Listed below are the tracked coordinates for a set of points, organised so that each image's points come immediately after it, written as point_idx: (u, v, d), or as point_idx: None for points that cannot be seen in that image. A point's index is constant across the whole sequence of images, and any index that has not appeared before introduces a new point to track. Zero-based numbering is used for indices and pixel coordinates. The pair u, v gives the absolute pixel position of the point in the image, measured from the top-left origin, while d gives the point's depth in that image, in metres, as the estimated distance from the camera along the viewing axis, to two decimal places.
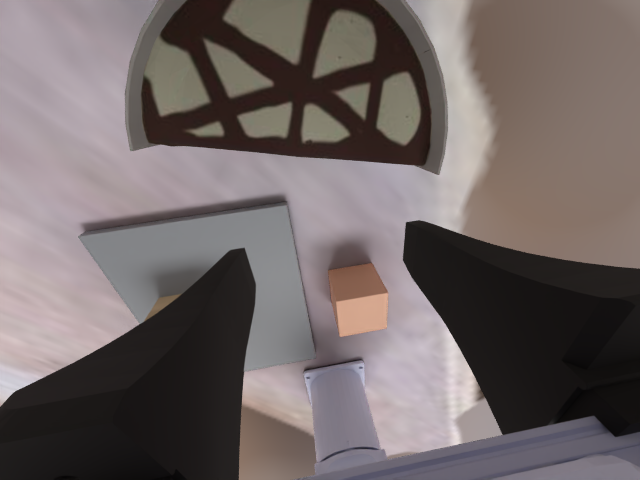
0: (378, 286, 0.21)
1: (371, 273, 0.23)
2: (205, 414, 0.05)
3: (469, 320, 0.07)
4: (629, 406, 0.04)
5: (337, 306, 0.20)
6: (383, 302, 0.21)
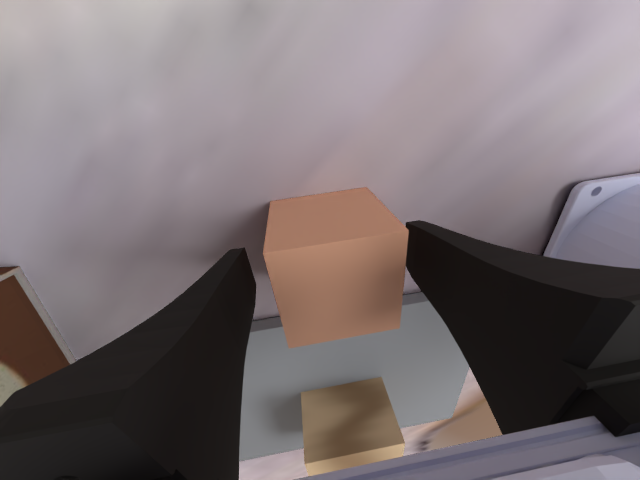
0: None
1: None
2: (205, 414, 0.05)
3: (469, 320, 0.07)
4: (629, 406, 0.04)
5: (303, 344, 0.09)
6: (298, 259, 0.07)
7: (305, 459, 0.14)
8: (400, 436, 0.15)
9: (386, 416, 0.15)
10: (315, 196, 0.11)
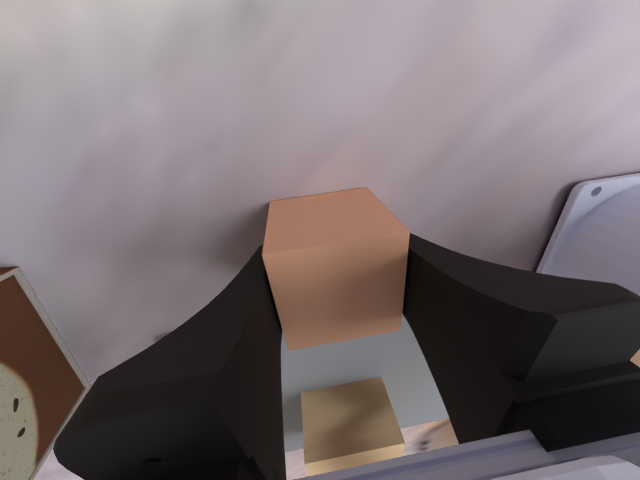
0: None
1: None
2: (263, 403, 0.05)
3: (429, 327, 0.07)
4: (561, 420, 0.04)
5: (303, 346, 0.09)
6: (298, 261, 0.07)
7: (305, 459, 0.14)
8: (400, 436, 0.15)
9: (386, 417, 0.15)
10: (315, 197, 0.11)
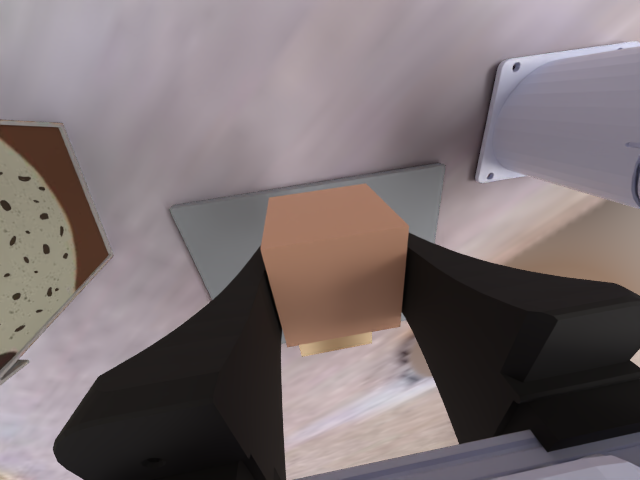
0: None
1: None
2: (262, 403, 0.05)
3: (429, 327, 0.07)
4: (561, 421, 0.04)
5: (302, 342, 0.09)
6: (296, 255, 0.07)
7: None
8: None
9: None
10: (314, 193, 0.11)
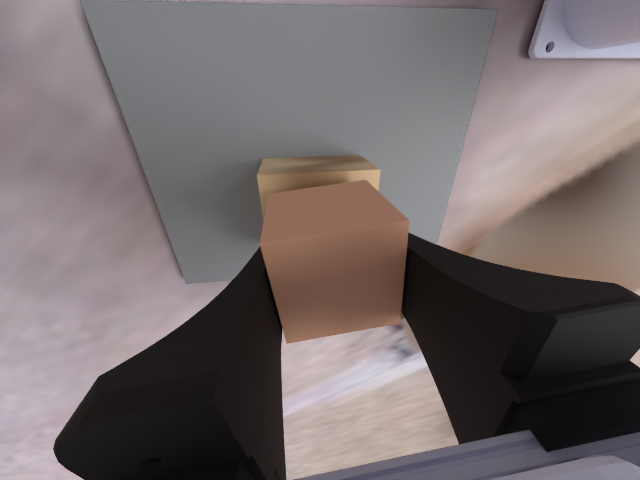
0: None
1: None
2: (263, 403, 0.05)
3: (429, 327, 0.07)
4: (560, 421, 0.04)
5: (301, 338, 0.09)
6: (296, 250, 0.07)
7: (258, 174, 0.11)
8: (375, 167, 0.12)
9: (360, 163, 0.13)
10: (314, 189, 0.11)
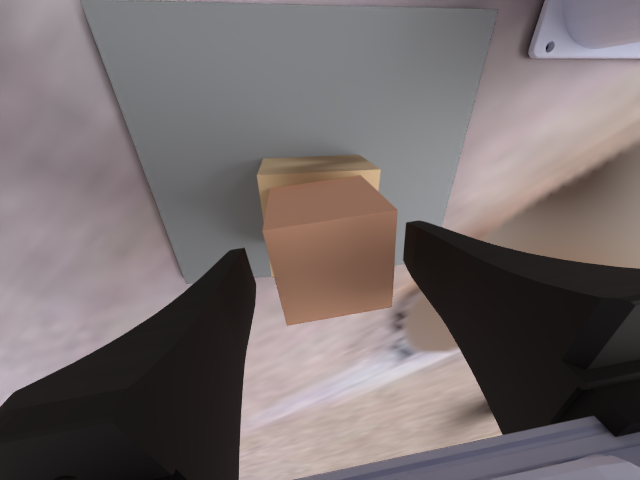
0: None
1: None
2: (205, 414, 0.05)
3: (469, 320, 0.07)
4: (629, 406, 0.04)
5: (300, 321, 0.10)
6: (295, 236, 0.08)
7: (258, 174, 0.11)
8: (375, 167, 0.12)
9: (361, 163, 0.13)
10: (312, 183, 0.11)
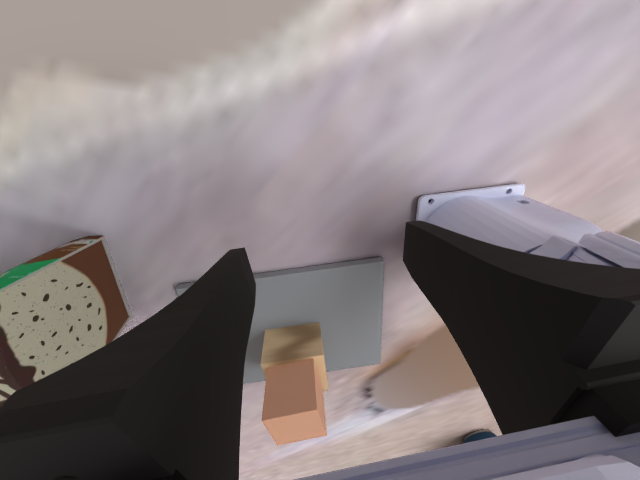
0: None
1: None
2: (205, 414, 0.05)
3: (469, 320, 0.07)
4: (629, 406, 0.04)
5: (283, 443, 0.21)
6: (275, 420, 0.19)
7: (261, 362, 0.23)
8: (321, 351, 0.23)
9: (316, 342, 0.24)
10: (288, 366, 0.23)
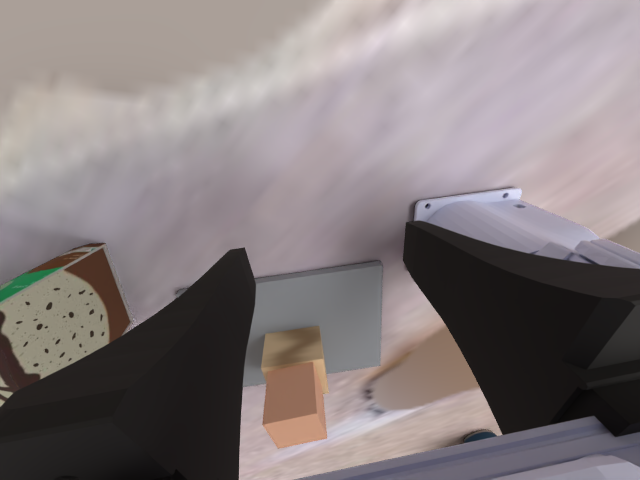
0: None
1: None
2: (205, 414, 0.05)
3: (469, 320, 0.07)
4: (629, 406, 0.04)
5: (284, 446, 0.22)
6: (276, 424, 0.20)
7: (261, 366, 0.23)
8: (321, 355, 0.23)
9: (315, 346, 0.24)
10: (288, 370, 0.23)
